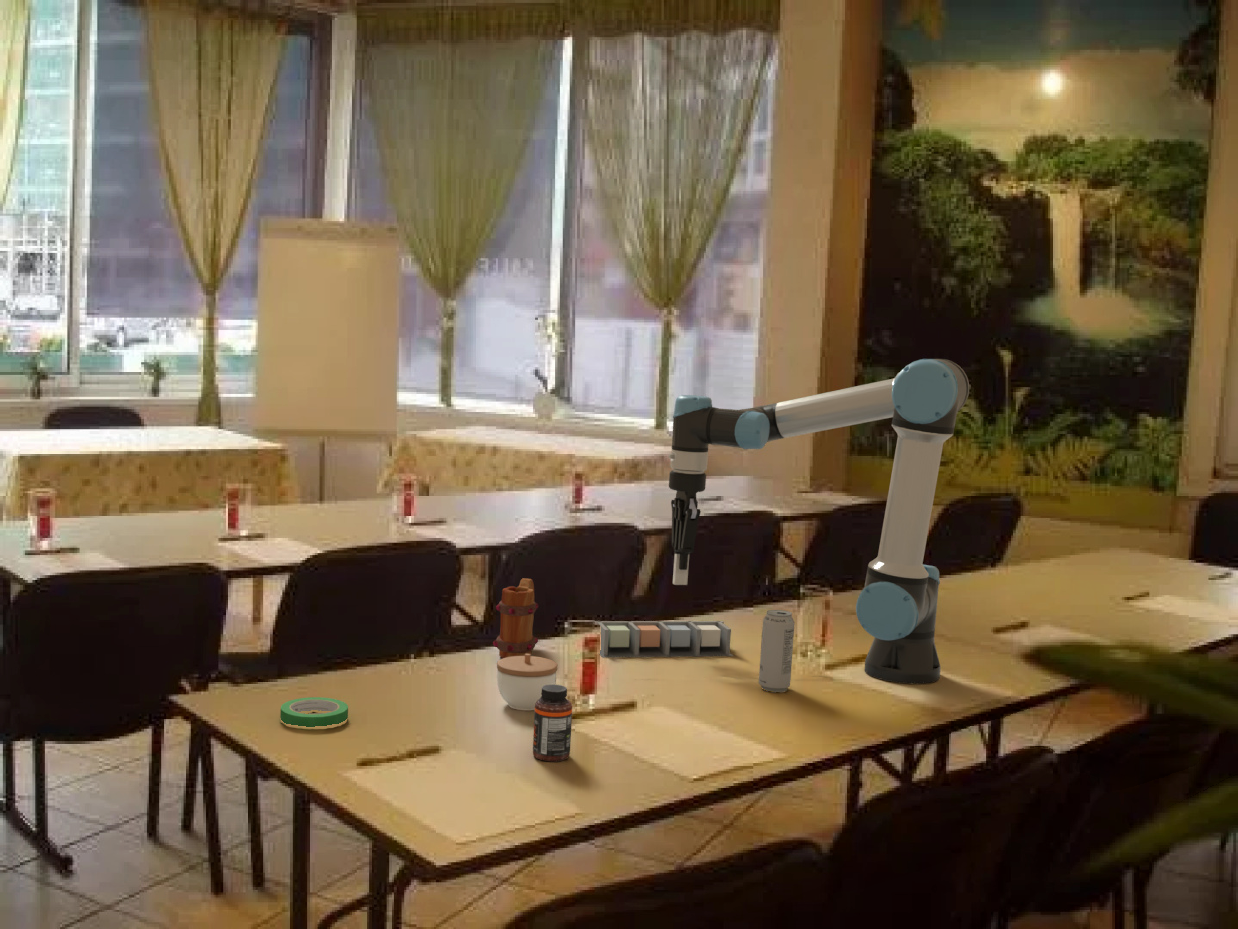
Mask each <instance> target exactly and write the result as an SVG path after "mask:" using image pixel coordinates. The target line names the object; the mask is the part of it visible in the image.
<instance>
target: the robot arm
mask: <svg viewBox="0 0 1238 929" xmlns="http://www.w3.org/2000/svg"><path fill="white" fill-rule="evenodd" d="M969 394H970V383H969V378H968V376H967V374H966V372H965V371H964V369H963V368H961V366H960V365H958V364H957V363H956V362H954V361H952V360H949V359H945V358H922V359H921V358H920V359H918V360H914V361H912V362H911V363H909V364H907V365H905V367H904V368H902V369H901V370H900V372H897V374H896V376H894V378H891V379H884V380H880V381H879V380H878V381H876V382H871V383H865V384H860V385H857V386H851V387H847V388H842V389H838V390H833V391H827V392H823V393H817V394H813V395H809V396H802V397H798V398H794V399H789V400H784V401H779V402H777V403H769V404H765V405H760V406H755V407H749V408H741V409H731V408H718V407H715V406H713V402H712V401H713V400H712V398H711V397H709V396H704V395H696V394H695V395H694V394H693V395H692V394H681V395H678V396H677V397H676V398H675V403H674V410H673V416H672V419H673V420H672V435H671V436H672V439H671V450H670V451H671V453H669V454H668V459H670V465H669V466H670V468H671V469H672V470H670V471H669V475H668V476H669V478H668V479H669V480H668V488H669V489H670V490H672V491H676V492H675V497H674V499H671V502H670V505H671V547H673V550H674V557H673V558H674V559H673V570H672V571H673V573H672V574H673V575H672V585H675V586H688V578H689V577H688V576H689V565H690V555H691V553H692V554H693V553H694V550H695V545H696V544H695V543H696V542H695V541H696V536H697V531H698V523H699V519H700V516H701V512H702V511H701V509H700V508H698V504H699V502H698V500H697V493H701V492H704V491H705V490H706V485H707V474H706V473H705V471H707V470H708V463H709V461H708V460H709V445H712V446H716V445H717V446H723V447H732V448H738V449H739V448H740V449H743V450H761V449H763V448H764V447H765V446H766V444H767V443H770V442H771V441H777V440H782V439H787V438H791V437H792V438H793V437H797V436H802V435H807V434H812V433H818V432H823V431H828V430H832V429H838V428H844V427H849V426H854V425H859V424H864V423H869V422H875V421H880V420H884V419H889V418H892V420H891V427H892V428H893V430H894V431H895V432H896V434H897V440H896V447H895V451H894V458H893V464H892V469H891V470H892V471H891V475H890V476H891V477H890V481H889V482H890V483H889V489H888V493H887V500H886V506H885V511H884V516H883V517H884V518H883V523H882V528H881V535H880V540H879V541H880V542H879V548H878V553H877V557H876V558H874V559H873V560H871V561H869V563H868V565H867V569H866V570H867V571H866V576H865V582H864V587H863V589H862V590H861V591H860V593H859V594H858V597H857V599H856V603H855V612H856V613H855V614H856V618H857V621H858V622H859V624H860V626H861V627H862V628H863V629H864V631H865V632H866V633H867V634H869V635H870V636H872V637H874V638H873V640H872V643H871V646H870V647H869V650H868V652H867V655H866V658H865V661H864V672H865V673H866V674H867V675H869V676H871V677H873V678H875V679H879V680H882V681H883V680H884V681H888V682H892V681H894V682H893V683H899V682H900V684H911V683H913V684H918V685H920V684H921V685H922V684H931V683H935V682H937V681H939V680H940V678H941V663H940V660H939V654H938V651H937V647H936V642H935V633H936V632H935V631H936V621H937V609H938V596H939V589H940V588H939V587H940V584H941V581H940V571H939V569H938V568H937V566H933V565H927V564H924V563H923V562H924V556H925V552H926V545H927V539H928V534H929V528H930V522H931V517H932V510H933V505H934V501H935V500H934V499H935V494H936V489H937V488H936V487H937V483H938V482H937V481H938V476H939V470H940V465H941V460H942V459H941V458H942V453H943V449H944V447H943V446H944V443H945V441H947V440H949V439H950V438H951V437H952V436H954V433H955V426H956V422H957V415H958V412H959V411H960V410H961V409H962V408H963V407H964V406H965V405H966V403H967V400H968V397H969Z"/></svg>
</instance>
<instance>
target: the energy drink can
mask: <svg viewBox="0 0 1238 929" xmlns="http://www.w3.org/2000/svg"><path fill="white" fill-rule="evenodd" d="M792 615H793V613H792V612H791V611H788V610H785V609H784V610H782V609H769V610H766V614H765V616H764V618H763V619H762V627H761V628H762V630H761V642H760V644H761V645H760V655H759V656H760V657H759V658H760V661H759V673H758V675H759V676H758V685H760V688H761V687H762V688H763V689H765V690H767V691H766V692H768V691H773V692H772V693H776V692H780V693H785V692H787V691H788V688H790V686H791V681H792V680H791V678H792V664H793V648H794V637H795V636H794V635H795V620H794V618H793V616H792ZM765 690H764V691H765ZM784 691H785V692H784Z"/></svg>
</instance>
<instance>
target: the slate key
mask: <svg viewBox="0 0 1238 929" xmlns="http://www.w3.org/2000/svg"><path fill="white" fill-rule="evenodd" d="M667 627H668V628H669V629H671V632H670V646H671V647H690V635H691V630H690V629H689V628H688V627H687V626H685V625H667Z"/></svg>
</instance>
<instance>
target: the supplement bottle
mask: <svg viewBox="0 0 1238 929" xmlns="http://www.w3.org/2000/svg"><path fill="white" fill-rule="evenodd" d="M541 695H542V696H541V698H540V699H539V700H537V701H536V703H535V710H534V715H533V716H534V717H533V734H532V736H533V738H532V739H533V740H532V754H533V756H534V757H535V758H536V759H538V760H540V761H544V762H562V761H564V760H567V759H568V758H569V757H570V754H571V741H572V740H571V739H572V738H571V737H572V723H573V722H572V720H573V703H572V702H571V701H570V700H569V699H567V696H568V688H567V687H566V686H564V685H561V684H555V685H545V686H543V687H542V693H541Z"/></svg>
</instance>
